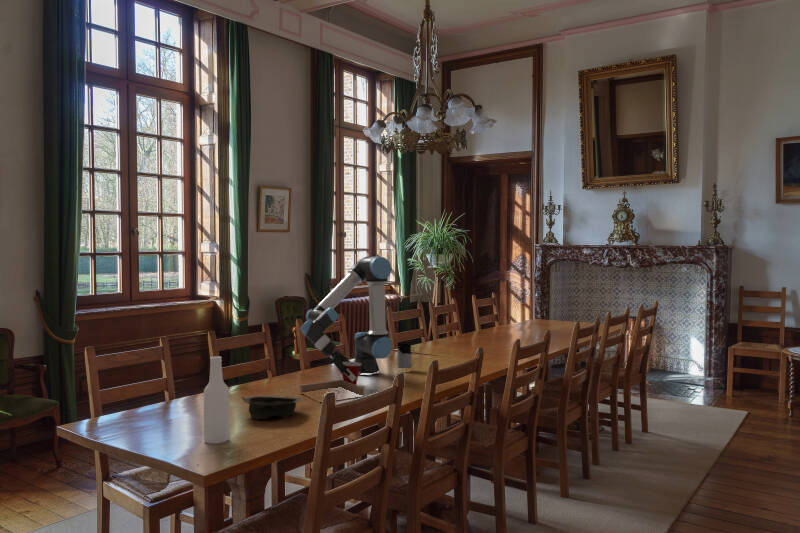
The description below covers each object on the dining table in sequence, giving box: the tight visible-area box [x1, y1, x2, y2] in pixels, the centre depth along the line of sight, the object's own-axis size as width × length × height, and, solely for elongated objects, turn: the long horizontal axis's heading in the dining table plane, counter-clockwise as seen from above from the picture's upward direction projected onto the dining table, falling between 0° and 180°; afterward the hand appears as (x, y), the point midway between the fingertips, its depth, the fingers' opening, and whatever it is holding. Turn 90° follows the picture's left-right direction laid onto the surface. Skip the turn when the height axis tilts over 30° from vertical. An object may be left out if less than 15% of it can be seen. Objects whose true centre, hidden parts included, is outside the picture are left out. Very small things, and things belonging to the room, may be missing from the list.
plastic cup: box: [341, 361, 361, 385], centre depth 318 cm, size 11×11×12 cm
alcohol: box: [203, 355, 231, 445], centre depth 227 cm, size 9×9×30 cm
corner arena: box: [299, 379, 365, 401], centre depth 298 cm, size 22×22×4 cm
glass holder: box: [396, 343, 422, 369], centre depth 359 cm, size 9×14×15 cm, turn 107°
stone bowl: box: [242, 395, 304, 421], centre depth 262 cm, size 25×25×9 cm
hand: (356, 377), depth 318 cm, fingers closed on plastic cup, 10 cm apart
